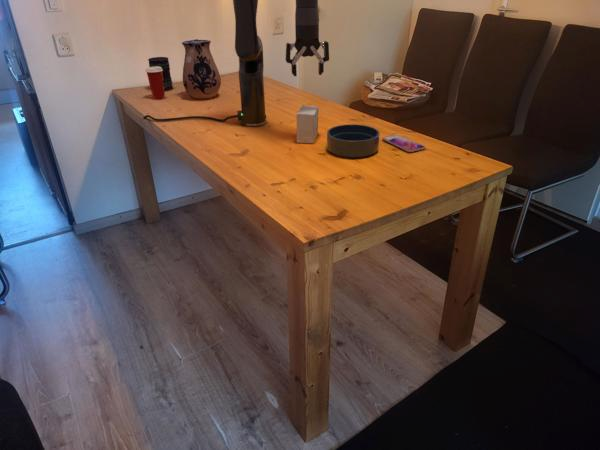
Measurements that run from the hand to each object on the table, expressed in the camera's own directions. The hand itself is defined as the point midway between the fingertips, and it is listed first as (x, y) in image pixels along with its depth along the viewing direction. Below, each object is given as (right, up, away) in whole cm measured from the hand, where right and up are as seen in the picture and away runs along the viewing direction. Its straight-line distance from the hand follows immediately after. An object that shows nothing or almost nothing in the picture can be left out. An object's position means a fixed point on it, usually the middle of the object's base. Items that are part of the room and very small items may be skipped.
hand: (307, 75), depth 152 cm
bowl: (+15, -25, 0) cm, 29 cm away
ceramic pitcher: (-49, +12, +66) cm, 84 cm away
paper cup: (-70, +10, +65) cm, 96 cm away
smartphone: (+33, -23, +3) cm, 40 cm away
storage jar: (-73, +19, +80) cm, 110 cm away
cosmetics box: (0, -19, +11) cm, 22 cm away
